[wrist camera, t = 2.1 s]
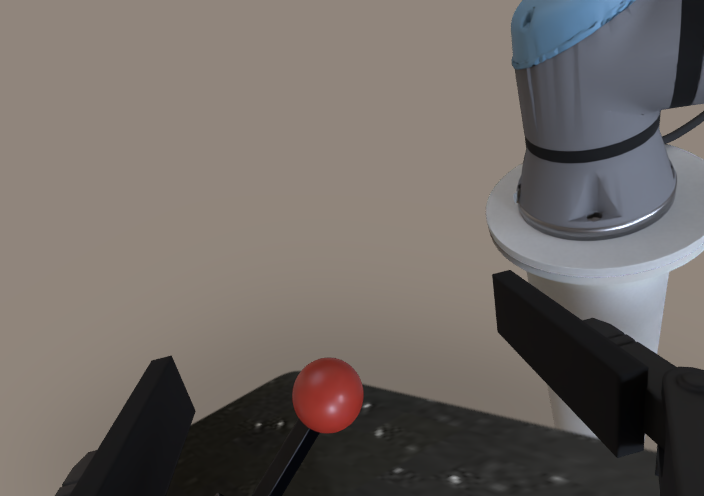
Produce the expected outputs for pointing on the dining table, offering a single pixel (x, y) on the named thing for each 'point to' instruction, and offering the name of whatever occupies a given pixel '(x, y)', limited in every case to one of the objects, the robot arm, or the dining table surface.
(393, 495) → the dining table surface
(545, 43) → the robot arm
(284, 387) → the dining table surface
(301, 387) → the lever
